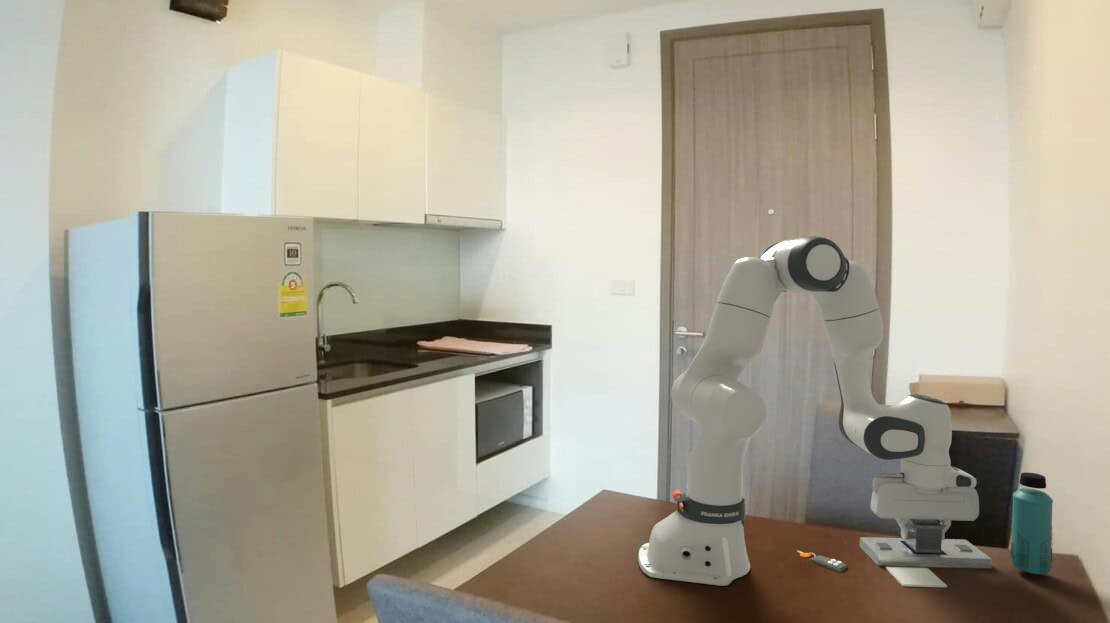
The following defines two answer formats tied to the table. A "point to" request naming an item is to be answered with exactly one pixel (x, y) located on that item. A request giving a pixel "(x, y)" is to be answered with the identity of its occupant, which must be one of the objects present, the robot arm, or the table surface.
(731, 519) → the robot arm
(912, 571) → the pad
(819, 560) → the key chain
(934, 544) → the dark grey box
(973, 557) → the cabinet panel
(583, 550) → the table surface
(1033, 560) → the beverage bottle
